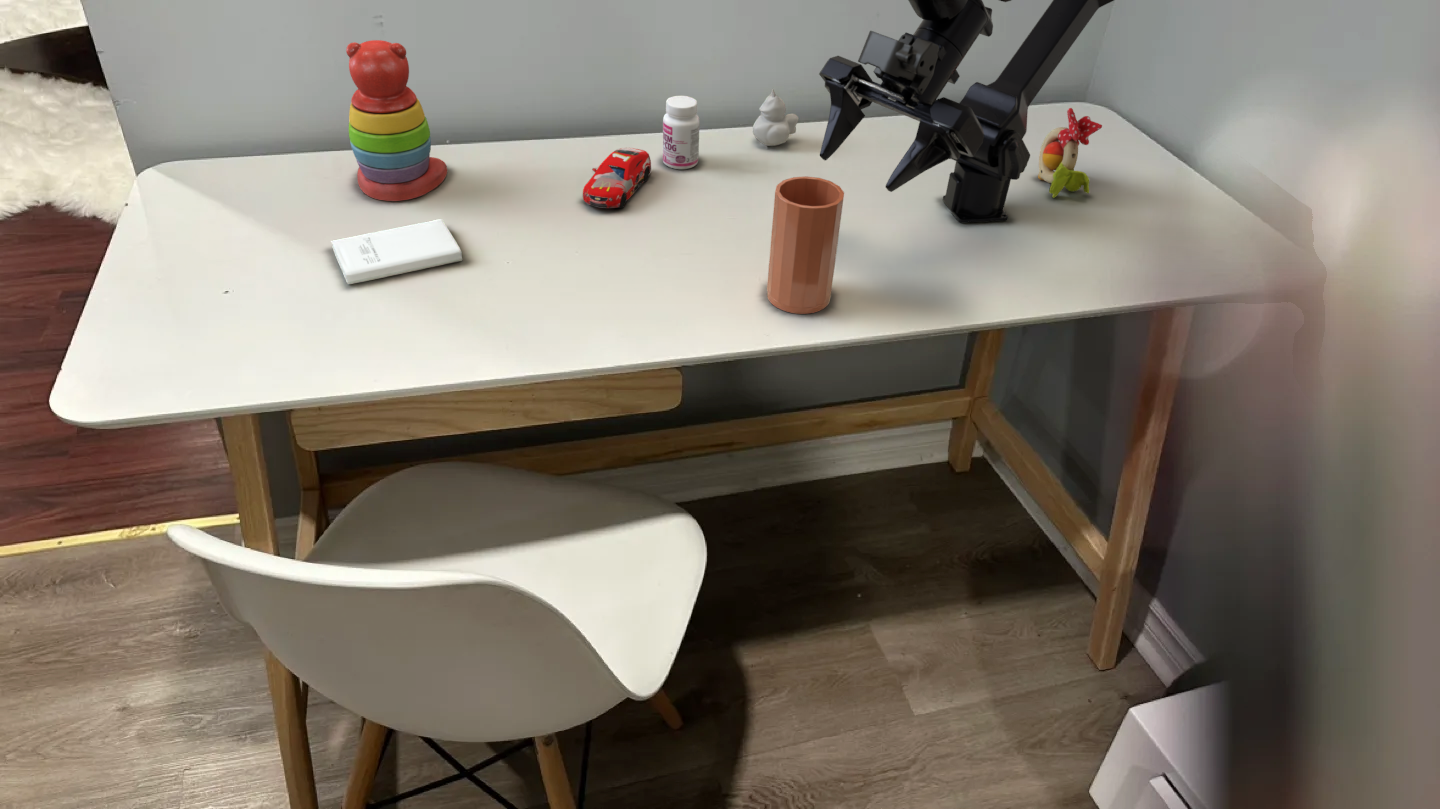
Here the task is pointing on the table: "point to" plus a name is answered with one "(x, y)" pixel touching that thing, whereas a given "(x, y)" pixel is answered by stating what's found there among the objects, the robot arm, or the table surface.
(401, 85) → the stacking bear
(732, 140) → the table surface
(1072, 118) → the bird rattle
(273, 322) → the table surface
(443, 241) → the hard drive
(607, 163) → the race car
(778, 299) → the pencil cup
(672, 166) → the pill bottle
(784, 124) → the white rounded figure
